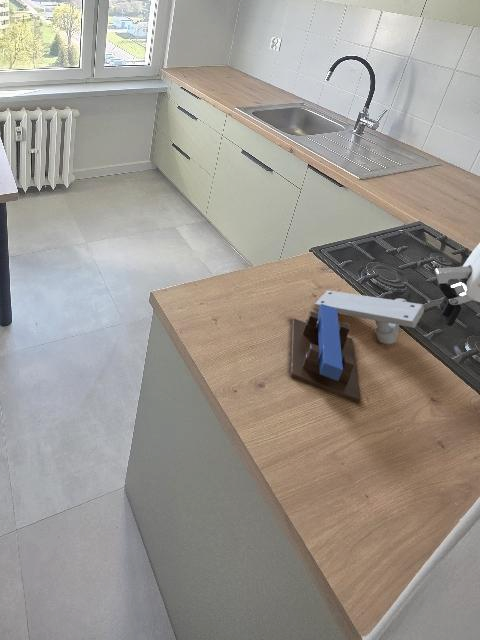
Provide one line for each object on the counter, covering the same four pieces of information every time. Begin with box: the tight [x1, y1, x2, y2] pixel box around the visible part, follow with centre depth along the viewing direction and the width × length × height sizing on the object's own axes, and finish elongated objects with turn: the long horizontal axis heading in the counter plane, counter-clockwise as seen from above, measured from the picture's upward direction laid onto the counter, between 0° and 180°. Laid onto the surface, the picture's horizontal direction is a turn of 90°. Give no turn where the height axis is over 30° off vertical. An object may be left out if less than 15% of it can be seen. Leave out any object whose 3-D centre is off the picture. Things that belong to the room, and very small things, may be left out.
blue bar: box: [317, 304, 343, 381], centre depth 86 cm, size 3×16×3 cm, turn 155°
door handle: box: [314, 289, 425, 345], centre depth 97 cm, size 18×8×20 cm
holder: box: [290, 310, 361, 403], centre depth 87 cm, size 12×15×7 cm
